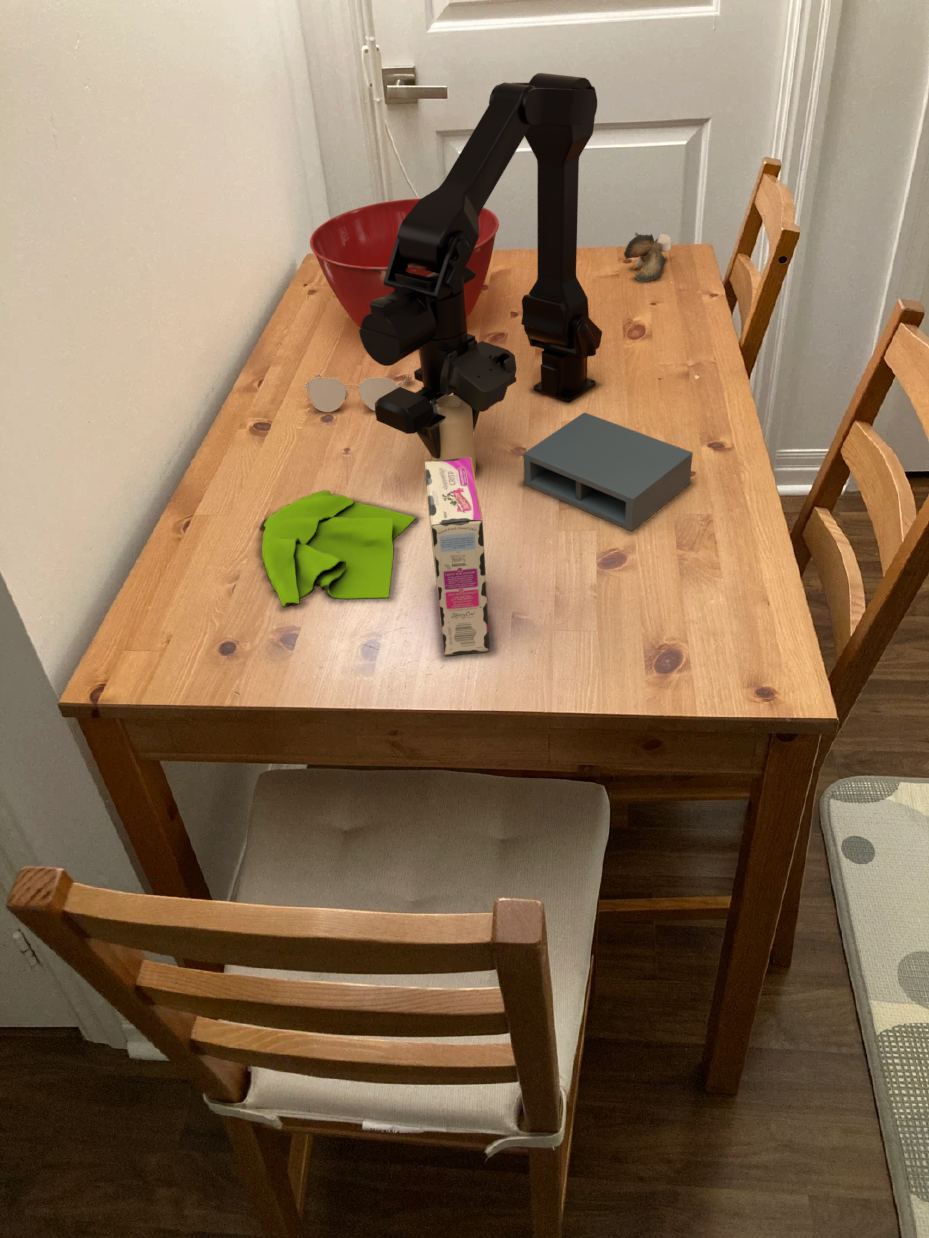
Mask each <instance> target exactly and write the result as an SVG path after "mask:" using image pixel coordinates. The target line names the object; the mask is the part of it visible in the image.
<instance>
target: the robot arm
mask: <svg viewBox="0 0 929 1238" xmlns="http://www.w3.org/2000/svg"><path fill="white" fill-rule="evenodd" d="M597 109H598V97H597V91H596V88H595V86H593V85H592V83H591V81H590V80H589V79H588V78H586V77H582V76H573V75H564V74H554V73H545V72H538V73H536V74H535V75H533V76H532V77H531V78H530V80H529V82H502V83H499V84H497V85H495V86H494V87H493V88H492V90H491V93H490V94H489V100H488V106H487V108H486V109H485V111H484V113H482V115H481V117H480V120H479V121H478V122H477V124H476V126H475V127H474V130H473V131H472V133H471V135H470V136H469V138H468V140H467V142H466V143H465V145H464V146H463V148H462V150H461V152H460V153H459V155H458V157H457V159H456V160H455V162H454V163H453V165H452V167H451V169H450V170H449V172H448V174H447V175H446V177H445V179H444V180H443V182H442V183H441V184H440V185H439V186H438V188H436V189H435V190H433V191H431V192H430V193H428V194H426V195H425V196H423V197H422V198H419V199H420V200H419V201H418V202H417V203H416V205H415V206H414V207H413V208H412V210H411V211H410V212H409V213H408V215H407V216H406V217H405V218H404V220H403V221H402V223H401V225H400V228H399V230H398V234H397V238H396V242H395V245H394V248H393V252H392V255H391V258H390V262H389V265H388V268H387V272H386V275H385V278H384V282H383V284H384V286H387V287H390V288H394V291H393V292H391V293H390V294H388V295H386V296H384V297H381V298H377V299H375V300H374V301H372V302H371V303H370V309H371V313H370V314H368V315H366V316H365V317H364V319H363V321H362V323H361V328H359V337H360V341H361V344H362V346H363V348H364V350H365V352H366V353H367V354H368V356H369V357H370V358H371V359H373V360H374V361H375V362H376V363H377V364H379V365H381V366H384V367H390V366H393V365H395V364H396V363H398V362H400V361H401V360H403V359H405V358H406V357H408V356H410V355H411V354H413V353H414V352H416V351H418V354H419V355H418V356H419V363H420V367H419V368H417V369H416V370H413V376H414V380H415V381H418V382H420V383H422V386H421V387H420V389H419V390H416V391H415V392H414V391H412V390H410V389H407V388H404V387H403V386H402V387H398V388H397V389H395V390H393V391H391V392H390V393H388V394H386V395H384V396H382V397H381V398H379V399H378V400H377V401H376V402H375V411H374V412H375V418H376V421H377V422H379V423H381V424H383V425H386V426H388V427H390V428H393V429H395V430H397V431H400V432H401V433H404V434H406V435H412V434H413V435H414V434H416V435H417V436H418V437H419V439H420V440H421V442H422V443H423V445H424V446H425V448H426V450H427V451H428V452H429V455H430V457H431V456H432V457H434V458H436V459H439V458H440V453H441V444H440V427H439V425H440V423H441V422H443V421H444V420H445V419H446V416H443V415H441V414H438V411H437V405H438V404H437V402H438V401H439V400H441V399H443V398H445V397H446V396H448V395H456V396H457V397H459V398H460V399H461V400H463V401H464V402H466V403H467V404H468V405H470V406H471V408H472V417H473V431H474V432H475V431H476V426H477V422H478V420H479V416H480V413H482V412H486V411H488V410H489V409H491V407H493V406H494V405H496V404H497V403H501V402H502V401H504V400H505V398H506V394H507V389H508V388H509V387H510V386H512V385H513V384H515V383H516V382H517V377H516V375H517V371H518V370H517V369H518V368H517V361H516V355H515V354H514V353H513V352H511V351H510V350H509V349H507V348H504V347H501V346H498V345H496V344H493V343H489V342H487V341H485V340H480V341H477V339H476V335H474V334H471V333H468V325H467V319H466V309H465V295H464V284H466V283H467V282H469V281H471V280H472V279H474V278H475V276H476V274H475V272H473V271H472V270H470V269H469V268H467V267H466V265H467V263H468V261H469V259H470V257H471V254H472V252H473V250H474V248H475V245H476V243H477V241H478V238H479V215H480V213H481V211H482V208H483V207H484V206H485V205H486V203H487V201H488V200H489V198H490V196H491V194H492V193H493V191H494V189H495V188H496V186H497V184H498V183H499V181H500V180H501V177H502V176H503V174H504V172H505V171H506V169H507V167H508V166H509V164H510V162H511V160H512V158H513V157H514V155H515V154H516V152H517V150H518V148H519V147H520V145H521V144H522V141H523V140H524V138H525V139H526V142H527V144H528V145H529V147H530V149H531V152H532V153H533V155H534V158H535V159H536V166H537V167H536V170H537V172H536V173H537V175H536V176H537V177H536V179H537V180H536V181H537V182H536V184H537V185H536V186H537V187H536V189H537V196H536V197H537V198H536V200H537V211H536V212H537V214H536V215H537V216H536V218H537V221H536V222H537V227H536V229H537V233H536V234H537V237H536V238H537V275H536V276H537V277H536V281H535V282H534V284H533V286H532V287H531V289H530V291H529V292H528V293H527V294H524V295H523V297H522V298H521V307H522V315H521V317H522V318H521V322H520V324H521V325H522V326H523V330H524V333H525V335H526V337H527V340H528V343H529V347H533V348H539V349H541V350H542V351H541V364H540V381H539V382H537V383H536V384H534V385H533V391H535V392H538V393H540V394H543V395H547V396H549V397H552V398H555V399H556V400H560V401H562V402H566V403H570V402H572V401H573V400H575V399H577V398H578V397H580V396H582V395H583V394H584V393H586V392H588V391H589V390H591V389H592V388H593V387H596V385H597V381H596V380H595V379H591V378H589V377H588V358H589V357H594V356H596V355H597V350H598V349H599V348H600V346H601V342H602V336H603V331H602V330H601V329H600V328H599V326H598V325H596V323H595V322H594V321H593V320H592V319H591V318H590V313H589V300H588V299H589V298H588V296H587V294H586V292H585V290H584V289H583V287H582V285H581V282H580V281H579V278H578V277H577V257H578V256H577V255H578V253H577V251H578V250H577V249H578V212H579V211H578V208H579V171H580V170H579V169H580V167H579V166H580V156H581V155H582V154H583V151H584V150H585V148H586V147H587V145H588V143H589V141H590V139H591V138H592V136H593V134H594V127H595V118H596V114H597ZM408 266H410V267H413V268H417V269H421V270H425V271H429V272H433V273H432V274H430V275H428V276H427V277H426V276H422V275H418V274H414V273H410V272H406V270H407V268H408Z"/></svg>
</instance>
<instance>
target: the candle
mask: <svg viewBox="0 0 929 1238" xmlns="http://www.w3.org/2000/svg"><path fill="white" fill-rule="evenodd" d="M437 404H438V405H437V411H438V414H441V415H443V416H446V419H445V420H444V421H443V422H441V423H440V425H439V427H440V444H441V453H440V458H439V459H436V458H434V457H432V456H431V455H430V458H431V461H440V460H449V459H458V458H470V457H471V458H472V463H473V468H474V474H475V473H476V470H477V461H476V460H477V459H476V448H475V446H476V445H475V430H474V431H473V417H472V408H471V406H470V405H468V404H467V403H466V402H464V401H463V400H461V399H460V398H459V397H457V396H456V395H453V394H450V395H448V396H446V397H445V398H443V399H441V400H439V401H438V402H437ZM475 475H476V474H475Z"/></svg>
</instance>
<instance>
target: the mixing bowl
mask: <svg viewBox="0 0 929 1238" xmlns="http://www.w3.org/2000/svg"><path fill="white" fill-rule="evenodd" d="M420 199H421V198H406V199H397V200H389V201H384V202H383V201H382V202H378V203H372V204H368V205H365V206H361V207H358V208H355V209H352V210H348V211H345V212H344V213H341V214H338V215H336V216H334V217H332V218H330V219H328V220H327V221H325V222H323V224H321V225H319V226H318V227H317V228H316V229H315V230H314V231H313V233H312V234H311V236H310V238H309V247H310V249H311V251H312V253H313V254H314V255H315V257H316V259H317V261H318V264H319V267H320V269H321V271H322V273H323V276H324V278H325V280H326V282H327V283H328V285H329V287H330V289H331V290H332V293H333V294H334V296H335V297H336V299H337V300H338V303H339V304H340V305H341V307H342V308H343V309H344V310H345V312H346V314H347V315H348V316H349V317H350V319H351V320H352V321H353V323H355V325H356V326H357V327H358V328H359V329H361V323H362V321H363V319H364V317H365V316H366V315H368V314H370V313H371V309H370V303H371V302H372V301H374V300H375V299H377V298H381V297H384V296H386V295H388V294H390V293H391V292H393V291H394V288H390V287H387V286H384V284H383V282H384V278H385V275H386V272H387V268H388V265H389V262H390V258H391V255H392V252H393V248H394V245H395V242H396V238H397V234H398V230H399V228H400V225H401V223H402V221H403V220H404V218H405V217H406V216H407V215H408V213H409V212H410V211H411V210H412V208H413V207H414V206H415V205H416V203H417V202H418V201H419V200H420ZM499 227H500V221H499V218H498V216H497V215H496V214H495V213H493V211H491V210H490V209H489V208H487V207H484V206H483V208H482V211H481V213H480V215H479V238H478V241H477V243H476V245H475V248H474V250H473V252H472V254H471V257H470V259H469V261H468V263H467V265H466V267H467V268H469V269H470V270H472V271H473V272H475V274H476V276H475V278H474V279H472V280H471V281H469V282H467V283H466V284H464V295H465V309H466V320H467V319H468V317H470V315H471V313H472V312H473V310H474V308H475V306H476V304H477V302H478V300H479V297H480V295H481V292H482V290H483V287H484V285H485V281H486V279H487V275H488V273H489V268H490V266H491V262H492V261H491V260H492V256H493V251H494V247H495V240H496V236H497V235H496V234H497V233H498V231H499ZM406 272H410V273H414V274H418V275H422V276H426V277H427V276H428V275H430V274H432V273H433V272H429V271H425V270H421V269H417V268H413V267H410V266H408V268H407V270H406Z"/></svg>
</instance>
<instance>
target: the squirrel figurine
mask: <svg viewBox="0 0 929 1238" xmlns="http://www.w3.org/2000/svg"><path fill="white" fill-rule="evenodd" d="M634 235H635V237H633V238H632V239H630V241H628V243H627V245H626V247H625V248H624V249H625V250H624V251H623V257H624V258H625V259H626V260H628V259H636V258H637V260H636V262H635V263H634V266H633V270H636V268H639V267H640V266H641V268H640V269H639V270H638V272H636V274H635V275H634V278H635V279H636V281H638V282H640V283H646V282H650V281H654V280H656V279H657V280H658V278H660V277H661V275H662V274H663V271H664V268H665V265H666V264H667V260H666V257H665V256H664V254H663V253H669V252H670V251H671V249H672V244H673V242H672V237H671V236H670V235H668V234H666V233H660V234H659V236H658V237H657V238H656V239H654V236H653V234H652V233H651V234H638V232H634Z"/></svg>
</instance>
